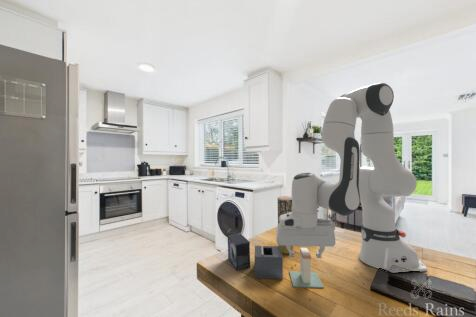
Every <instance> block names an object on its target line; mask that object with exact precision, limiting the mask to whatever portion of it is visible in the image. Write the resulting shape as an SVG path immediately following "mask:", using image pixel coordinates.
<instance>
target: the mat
mask: <svg viewBox="0 0 476 317" xmlns="http://www.w3.org/2000/svg"><path fill="white" fill-rule="evenodd" d="M288 272H289V273H288V274H289V275H290V280H291V284H292V287H293V288H311V289H312V288H315V289H324V285H323V282H322V281H321V279H320V277H319V275H318V272H317V271H311V283H303V280H302V277H301V274H300V270H299V271H298V270H297V271H296V270H289V271H288Z"/></svg>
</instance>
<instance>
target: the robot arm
mask: <svg viewBox="0 0 476 317" xmlns="http://www.w3.org/2000/svg"><path fill="white" fill-rule="evenodd" d="M394 98H395V95H394V91H393V88H392V87H391V86H390V85H389V84H387V83H386V82H376V83H371V84H370V85H367V86H362V87H359V88H357V89H354V90H352V91H350V92H347V93H345V94H342V95H340V96H339V97H337V98H335V99H333V100H332V101H331V102H330V104H329V106H328V108H327V110H326V112H325V115H324V116H325V117H324V119H323V124H322V128H321V136H320V137H321V141H322V143H323V144H324V146H326V148H328V149H330V150H331V151H334V152H336V153H337V154H338V156H339V158H340V163H339V166H340V167H339V178H338V181H337V182H332V181H326V180H324V179H322V178H320V177H318V176H316V174H315V173H313V172H302V173H298V174H296V175H294V177H293V178H292V182H291V197H292V201H293V206H292V212H289V213H286V214H283V215H280V217H279V220H280V223H279V224H278V223H277V227H276V232H275V241H276V244H277V245H285V246H286V247H287V249H288V251H289V254H288V255H289V258H295V252H294V250H293V251H291V250H290V248H291V246H293V247H294V246H295V247H296V246H297V247H319V248H318V251H315V257H316V259H322V254H323V253H324V251H325V249H326V248H325V247H332V248H333V247H334V246H335V245H336V236H335V230H336V223H335V221H333V220H331V219H330V218H325V219H324V218H319V214H318V213H319V211H318V209H319V208H323V209H325V210H328V211H332V212H333V213H336V214H338V215H340V216H342V217H343V216H347V217H348V216H349V215H351V214H353V213H355V212H356V211H357V209H359V207H360V206H361V209H362V210H361V211H362V212H361V213H362V224H361V231H360V233H361V247H360V251H359V253H358V259H359V260H360V261H361V262H362V263H364V264H366V265H368V266H370V267H372V268H375V269H379V268H382V269H387V270H388V269H389V268H390V267H391V266H392V265H396V266H401V267H404V268H408V269H411V270H415V271H420V272H427V270H428V268H427V266H426V264H424V263H423V262H422V261H421V260H420V259H419V256H418V253H417V251H416V249H414V247H412V246H410V245H409V244H408V243H407V242H406V241H404V240H403V239H402V238H406V237H407V233H406V232H404V231H403V230H399V229H396V218H395V217H396V212H395V209H394V208H393V207H392V205H390V204H389V203H388V202H386V201H385V199H384V197H383V196H389V197H395V198H396V197H397V198H398V197H409V196H411V195H412V194H413V193H414V192H415V191H416V189H417V185H418V183H417V182H418V181H417V178H416V176H415V174H414V173H412V172H411V171H410V170H409V169H408V168H406V167H405V166H404V165H403V164H402V163H401V161H400V160H399V158H398V155H397V154H396V150H395V138H394V124H393V123H394V122H393V118H392V114H391V111H390V109H391V107H392V106H393V102H394ZM358 118H360V120H361V124H360V125H361V126H360V128H361V129H360V134H361V136H360V141H361V142H360V144H361V145H360V144H359V142H358V140H357V139H356V138H355V129H356V125H357V119H358ZM360 146H361V150H360ZM360 152H361V153H362V155H363V156H365V157H366V158H368V159H369V160H370V161H371V162H372V164H373V166H360V165H361V163H360V161H361V160H360V158H361V154H360ZM318 207H319V208H318ZM401 237H402V238H401ZM382 269H381V270H382Z"/></svg>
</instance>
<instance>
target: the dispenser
mask: <svg viewBox="0 0 476 317" xmlns="http://www.w3.org/2000/svg"><path fill="white" fill-rule="evenodd" d="M283 260H284V259H283V253H281V249H280V246H276V245H272V246H271V245H254V278H255V279H263V280H264V279H265V280H284V275H283V274H284V273H283V270H284V269H283V262H284V261H283Z"/></svg>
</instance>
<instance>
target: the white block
mask: <svg viewBox="0 0 476 317" xmlns="http://www.w3.org/2000/svg"><path fill="white" fill-rule="evenodd" d="M299 257H300V258H299V261H300V262H299V263H300V264H299V268H300V270H299V271H300V274H301V277H302V280H303V283H311V272H312V270H311V268H312V266H311V258H312V256H311V252H310V250H309V249H308V247H300V248H299Z"/></svg>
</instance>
